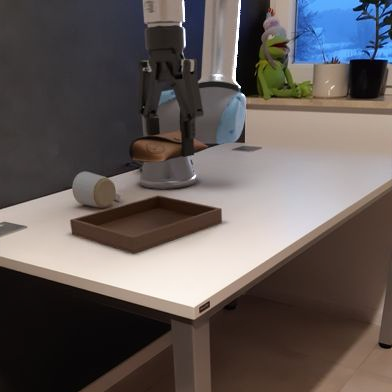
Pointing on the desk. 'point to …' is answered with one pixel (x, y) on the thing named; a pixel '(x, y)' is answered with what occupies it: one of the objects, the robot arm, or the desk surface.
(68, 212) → the desk surface
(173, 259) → the desk surface
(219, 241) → the desk surface
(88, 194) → the ceramic mug
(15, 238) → the desk surface
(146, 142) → the sunglasses case
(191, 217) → the valet tray
